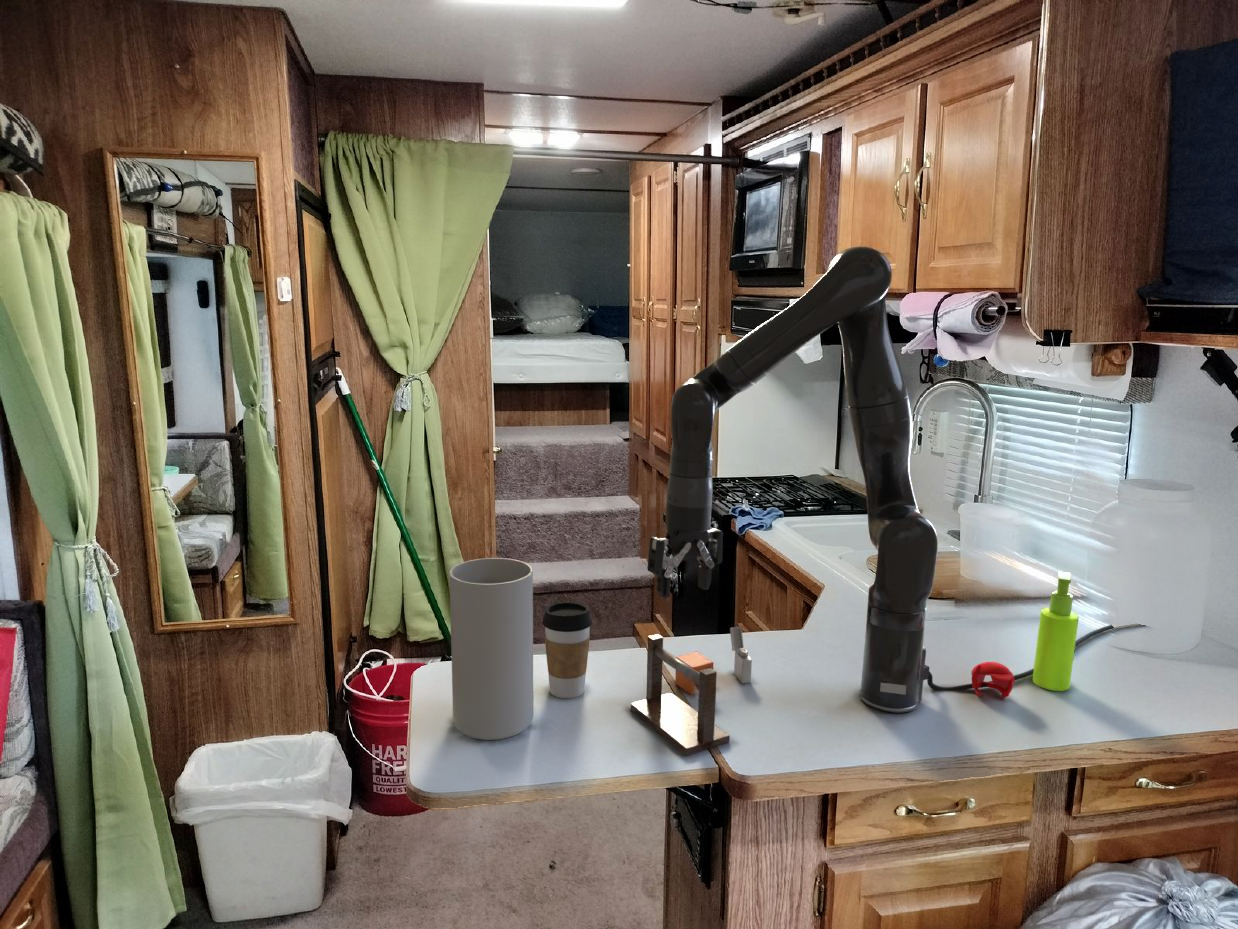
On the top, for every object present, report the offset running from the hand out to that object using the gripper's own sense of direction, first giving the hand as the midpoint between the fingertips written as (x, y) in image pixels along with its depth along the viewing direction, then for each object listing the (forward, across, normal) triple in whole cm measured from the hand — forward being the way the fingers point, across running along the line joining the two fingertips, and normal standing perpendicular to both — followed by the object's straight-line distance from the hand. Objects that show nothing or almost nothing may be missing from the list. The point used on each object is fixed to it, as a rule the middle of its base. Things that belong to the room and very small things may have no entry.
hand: (683, 592), depth 144 cm
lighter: (+17, +12, -3) cm, 21 cm away
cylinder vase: (+18, -33, +5) cm, 38 cm away
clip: (+17, +2, -2) cm, 17 cm away
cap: (+16, +43, -32) cm, 56 cm away
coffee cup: (+18, -18, +8) cm, 26 cm away
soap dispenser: (+15, +57, -35) cm, 68 cm away
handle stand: (+17, -9, -11) cm, 22 cm away
